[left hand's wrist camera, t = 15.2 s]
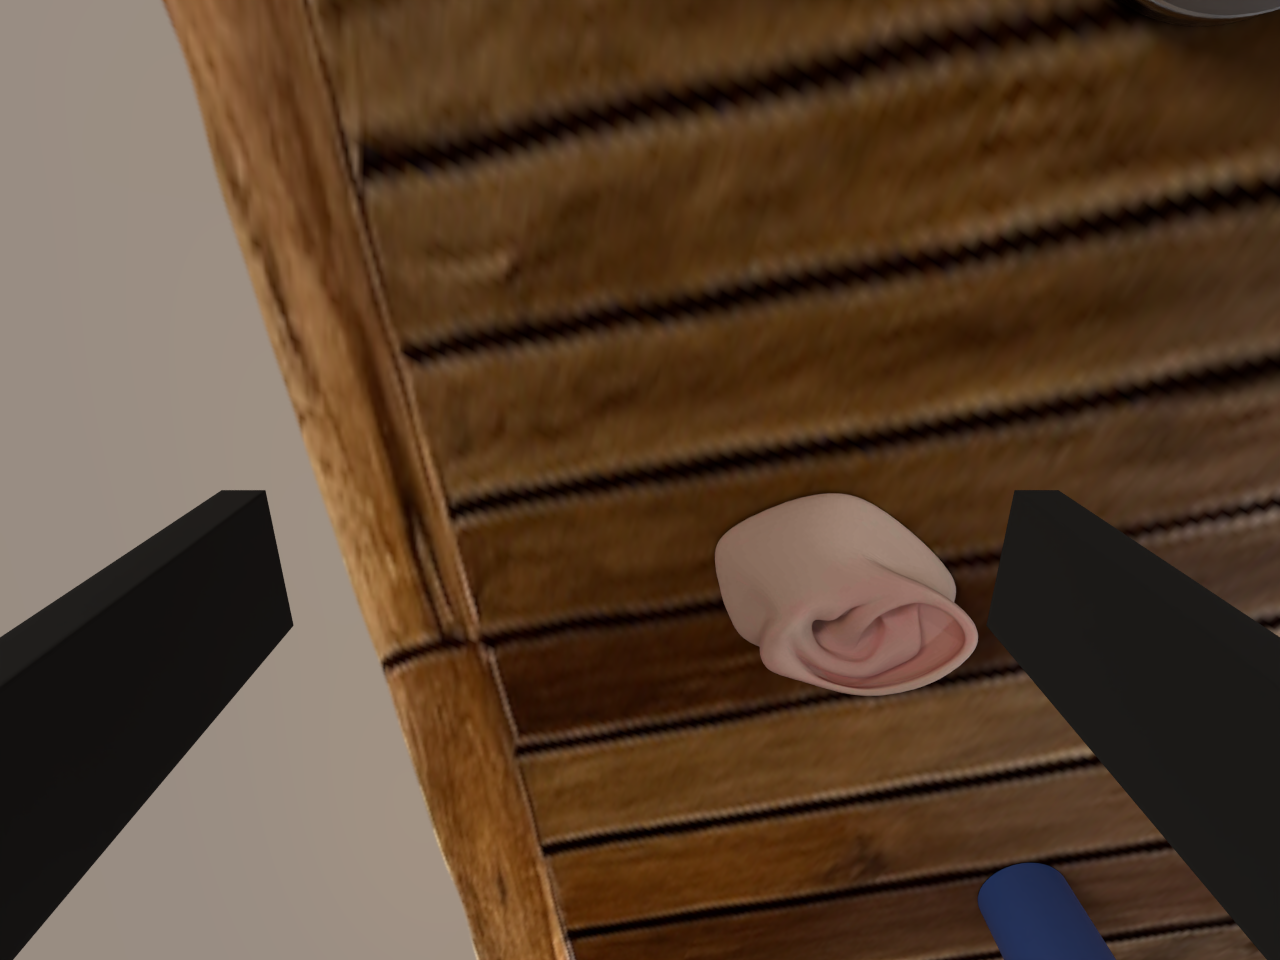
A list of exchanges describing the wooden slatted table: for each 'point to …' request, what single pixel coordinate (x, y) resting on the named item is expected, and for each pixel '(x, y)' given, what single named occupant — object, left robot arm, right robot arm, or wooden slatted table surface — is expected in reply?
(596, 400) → the wooden slatted table surface
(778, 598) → the anatomical model
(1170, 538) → the wooden slatted table surface
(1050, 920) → the canister
